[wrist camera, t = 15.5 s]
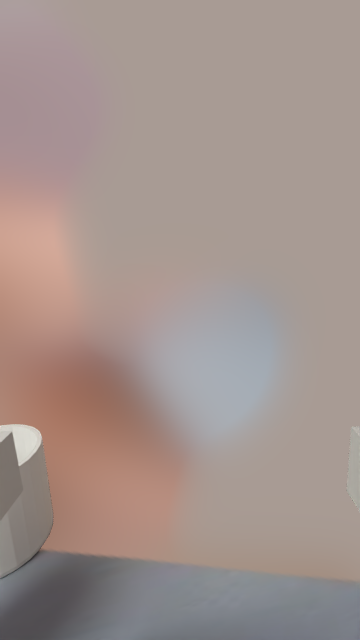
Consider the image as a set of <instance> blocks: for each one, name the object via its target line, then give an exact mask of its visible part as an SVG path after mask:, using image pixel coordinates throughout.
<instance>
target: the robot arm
mask: <svg viewBox="0 0 360 640" xmlns="http://www.w3.org/2000/svg"><path fill="white" fill-rule="evenodd" d="M22 491H23V485H22V480H21V475H20V470H19V464H18V459H17V454H16V449H15V443H14V438H13V433H12V431H0V521H1V520H2V518H3V517H4V516H5V514H6V513H7V512H8V510H9V509H10V508H11V506H12V505H13V504H14V502H15V501H16V499H17V498H18V497H19V495H20V494H21V493H22ZM347 492H348V494H349V495H350V497H351V499H352V500H353V502H354V503H355V505H356V507H357V508H358V510H359V511H360V427H351V437H350V450H349V465H348V479H347Z"/></svg>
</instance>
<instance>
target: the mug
mask: <svg viewBox="0 0 360 640" xmlns="http://www.w3.org/2000/svg"><path fill="white" fill-rule="evenodd" d="M0 431H12V433H13V438H14V443H15V449H16V454H17V459H18V464H19V470H20V475H21V480H22V485H23V491H22V493H21V494H20V495H19V497H18V498H17V499H16V501H15V502H14V504H13V505H12V506H11V508H10V509H9V510H8V512H7V513H6V514H5V516H4V517H3V518H2V520H1V521H0V578H2V577H4V576H6V575H8V574H10V573H11V572H13V571H15V570H17V569H18V568H20V567H21V566H22V565H23V564H25V563H26V562H27V561H29V560H30V559H31V558H32V557H33V556H34V555H35V554H36V553H37V551H38V550H39V549H40V548H41V547H42V545H43V544H44V542H45V541H46V539H47V538H48V536H49V534H50V531H51V528H52V525H53V509H52V502H51V495H50V489H49V482H48V475H47V469H46V462H45V455H44V448H43V441H42V436H41V434H40V432H39V431H38V430H37V429H35V428H34V427H31V426H27V425H18V424H13V425H3V426H0Z"/></svg>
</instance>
